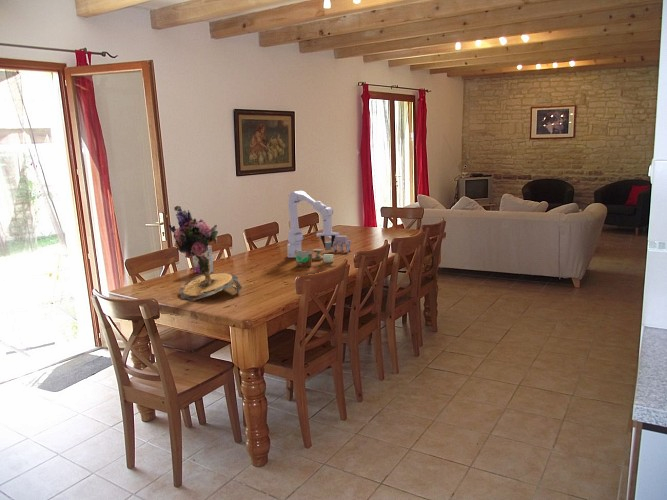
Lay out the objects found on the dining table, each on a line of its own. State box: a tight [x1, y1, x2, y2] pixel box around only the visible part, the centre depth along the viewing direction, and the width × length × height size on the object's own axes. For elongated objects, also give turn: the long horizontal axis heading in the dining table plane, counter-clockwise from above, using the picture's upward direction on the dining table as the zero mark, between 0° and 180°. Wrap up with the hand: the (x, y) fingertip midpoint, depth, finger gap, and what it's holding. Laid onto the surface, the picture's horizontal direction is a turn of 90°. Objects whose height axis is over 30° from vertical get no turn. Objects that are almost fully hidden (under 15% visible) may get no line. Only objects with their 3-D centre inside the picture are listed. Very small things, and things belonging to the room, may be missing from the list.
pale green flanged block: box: [323, 253, 334, 263], centre depth 342 cm, size 6×8×4 cm
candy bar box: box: [191, 245, 215, 274], centre depth 321 cm, size 11×5×16 cm, turn 74°
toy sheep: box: [325, 231, 352, 254], centre depth 371 cm, size 20×11×14 cm, turn 71°
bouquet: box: [168, 205, 243, 302], centre depth 275 cm, size 33×44×45 cm
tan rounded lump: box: [312, 248, 324, 261], centre depth 349 cm, size 8×8×6 cm
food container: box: [294, 249, 314, 268], centre depth 329 cm, size 12×6×10 cm, turn 62°
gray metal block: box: [324, 240, 333, 251], centre depth 342 cm, size 4×4×5 cm
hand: (328, 247), depth 342 cm, fingers closed on gray metal block, 4 cm apart
